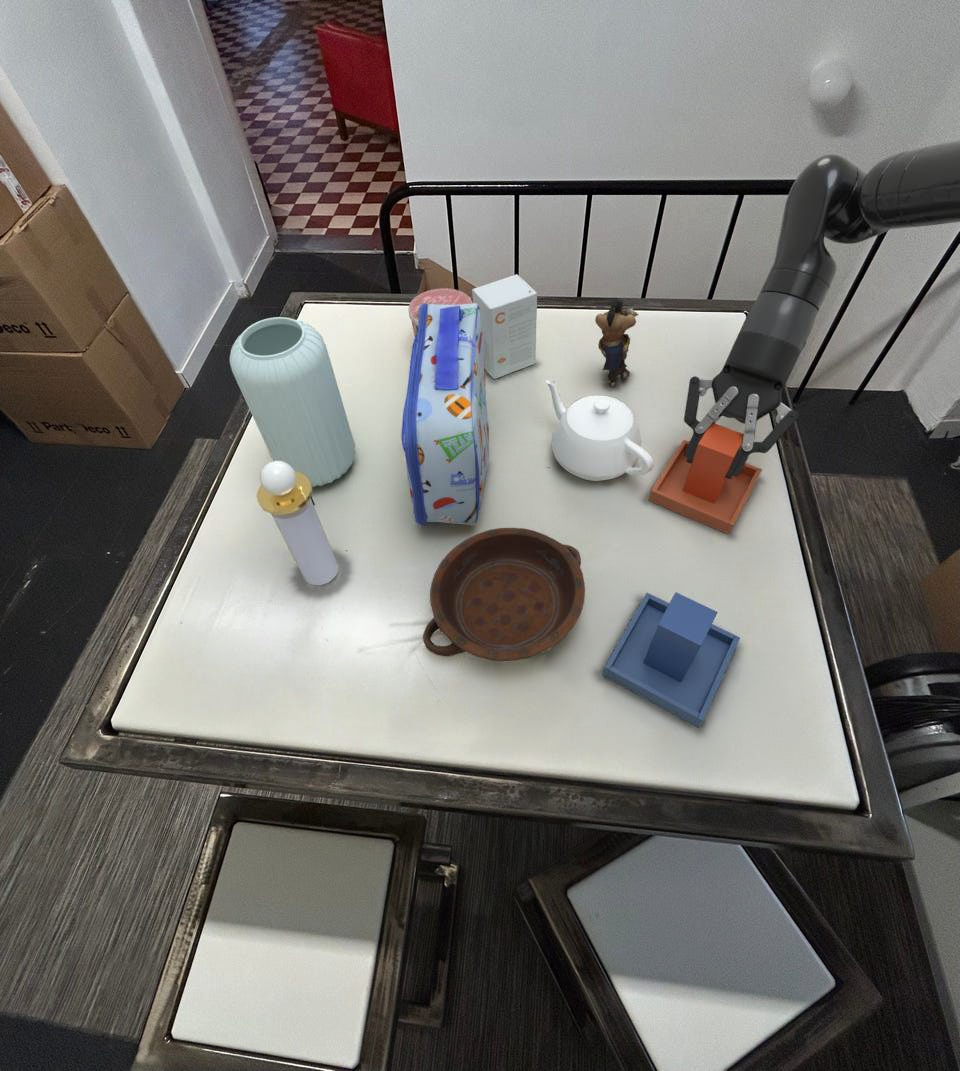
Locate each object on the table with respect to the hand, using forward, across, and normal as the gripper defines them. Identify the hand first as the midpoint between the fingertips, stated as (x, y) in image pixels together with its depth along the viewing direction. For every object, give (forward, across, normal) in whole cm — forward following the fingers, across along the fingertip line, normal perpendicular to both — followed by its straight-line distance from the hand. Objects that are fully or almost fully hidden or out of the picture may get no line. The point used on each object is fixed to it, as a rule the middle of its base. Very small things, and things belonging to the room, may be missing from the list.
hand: (708, 470), depth 78 cm
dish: (+24, -13, -16) cm, 32 cm away
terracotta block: (+2, 0, +5) cm, 5 cm away
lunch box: (+13, -32, -4) cm, 35 cm away
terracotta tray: (+3, 0, +5) cm, 6 cm away
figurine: (-7, -21, +15) cm, 27 cm away
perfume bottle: (+30, -36, -22) cm, 51 cm away
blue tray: (+21, +6, -13) cm, 26 cm away
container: (-3, -49, +11) cm, 50 cm away
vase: (+20, -49, -12) cm, 54 cm away
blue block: (+21, +6, -14) cm, 25 cm away
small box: (-4, -38, +13) cm, 40 cm away
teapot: (+4, -16, +4) cm, 17 cm away
